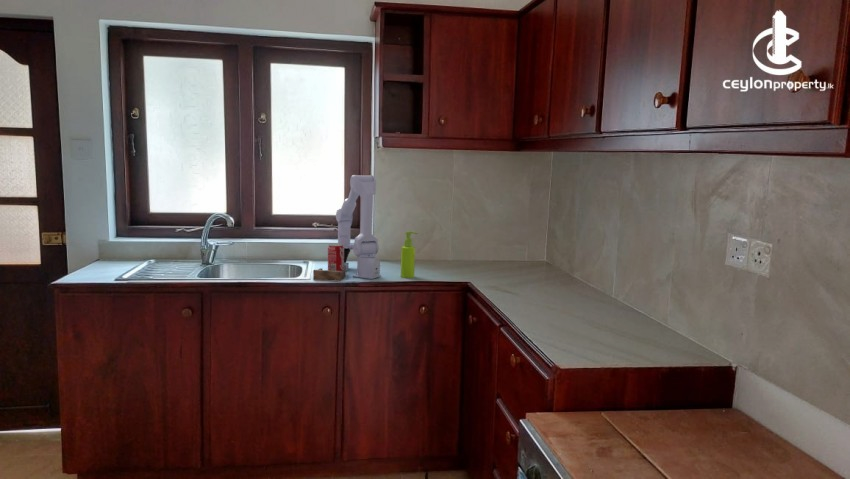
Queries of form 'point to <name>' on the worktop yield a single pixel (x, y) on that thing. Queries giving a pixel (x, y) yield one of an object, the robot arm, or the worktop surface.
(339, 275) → the walnut tray
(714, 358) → the worktop surface
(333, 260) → the soda can
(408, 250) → the soap dispenser
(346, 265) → the pusher block
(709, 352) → the worktop surface
